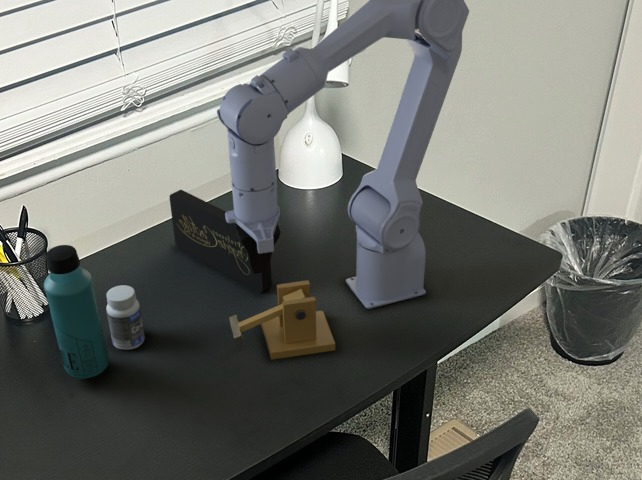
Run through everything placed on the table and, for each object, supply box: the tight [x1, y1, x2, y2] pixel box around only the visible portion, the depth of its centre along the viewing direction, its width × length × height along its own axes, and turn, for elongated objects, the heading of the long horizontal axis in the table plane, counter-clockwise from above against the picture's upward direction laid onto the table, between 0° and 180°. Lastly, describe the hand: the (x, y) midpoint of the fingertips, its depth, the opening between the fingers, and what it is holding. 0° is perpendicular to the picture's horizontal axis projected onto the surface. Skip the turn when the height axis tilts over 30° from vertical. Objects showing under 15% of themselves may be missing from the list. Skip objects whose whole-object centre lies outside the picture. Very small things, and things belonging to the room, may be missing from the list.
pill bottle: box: [105, 284, 146, 351], centre depth 129 cm, size 5×5×8 cm
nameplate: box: [169, 189, 273, 294], centre depth 142 cm, size 21×2×10 cm, turn 41°
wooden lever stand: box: [260, 279, 336, 360], centre depth 127 cm, size 9×8×8 cm
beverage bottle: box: [43, 244, 110, 379], centre depth 121 cm, size 6×7×20 cm
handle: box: [228, 289, 306, 345], centre depth 126 cm, size 11×5×2 cm, turn 94°
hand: (260, 270), depth 125 cm, fingers closed
